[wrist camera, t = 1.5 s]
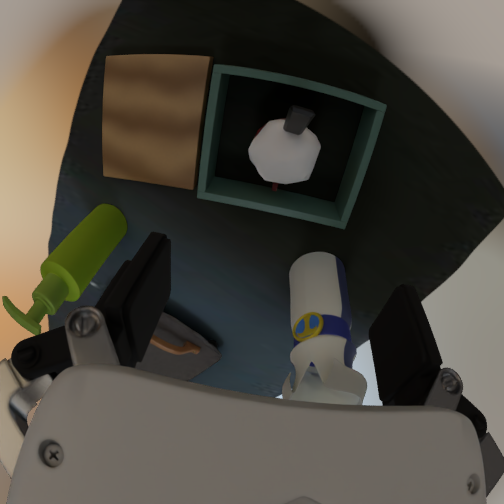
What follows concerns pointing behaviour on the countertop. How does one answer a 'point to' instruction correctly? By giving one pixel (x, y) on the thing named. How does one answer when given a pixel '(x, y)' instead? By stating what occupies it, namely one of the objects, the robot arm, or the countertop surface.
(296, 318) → the water bottle
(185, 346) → the serving tray
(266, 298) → the countertop surface
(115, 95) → the cutting board
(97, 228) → the soap dispenser
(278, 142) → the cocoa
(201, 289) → the countertop surface
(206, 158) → the crate
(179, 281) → the countertop surface
